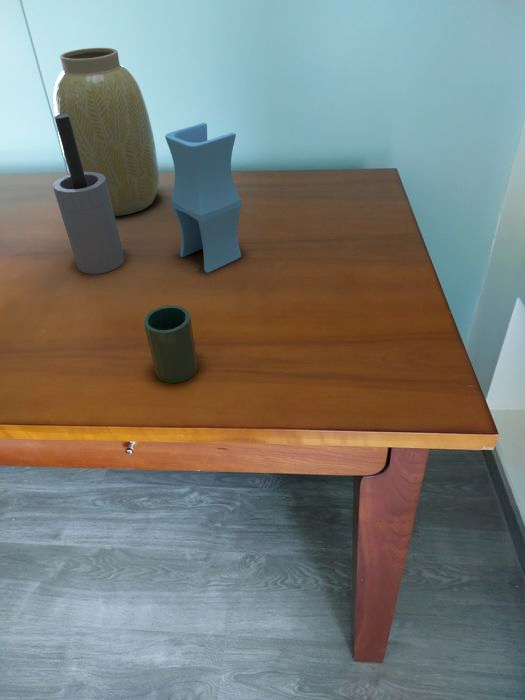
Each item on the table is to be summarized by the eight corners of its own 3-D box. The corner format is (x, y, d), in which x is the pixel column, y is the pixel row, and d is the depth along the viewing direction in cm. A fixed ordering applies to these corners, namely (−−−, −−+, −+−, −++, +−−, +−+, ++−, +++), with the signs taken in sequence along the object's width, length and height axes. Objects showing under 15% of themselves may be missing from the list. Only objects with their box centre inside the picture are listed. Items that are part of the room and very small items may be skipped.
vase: (86, 228, 99) (42, 69, 81) (72, 195, 111) (31, 50, 94) (174, 209, 104) (150, 55, 86) (151, 179, 116) (126, 39, 99)
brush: (100, 263, 87) (61, 120, 72) (85, 259, 88) (44, 118, 74) (113, 254, 89) (78, 114, 74) (99, 250, 90) (61, 111, 76)
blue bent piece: (244, 255, 89) (236, 133, 76) (207, 273, 85) (192, 147, 72) (216, 239, 93) (204, 122, 81) (179, 255, 90) (160, 134, 77)
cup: (102, 278, 85) (79, 195, 76) (67, 267, 88) (41, 186, 79) (133, 256, 90) (115, 176, 81) (99, 246, 93) (79, 168, 84)
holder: (181, 388, 64) (171, 337, 59) (146, 374, 67) (134, 324, 62) (206, 362, 68) (198, 312, 63) (172, 350, 70) (163, 300, 65)
